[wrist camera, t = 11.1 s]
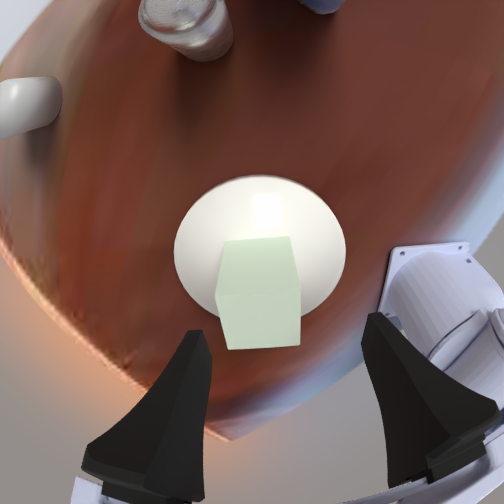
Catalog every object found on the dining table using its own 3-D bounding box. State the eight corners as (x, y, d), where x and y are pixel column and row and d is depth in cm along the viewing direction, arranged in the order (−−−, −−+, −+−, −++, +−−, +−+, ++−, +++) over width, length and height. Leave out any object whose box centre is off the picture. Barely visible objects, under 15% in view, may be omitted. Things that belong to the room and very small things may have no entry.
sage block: (289, 235, 19) (300, 289, 14) (290, 286, 21) (299, 344, 16) (225, 240, 19) (214, 295, 14) (234, 290, 22) (228, 349, 16)
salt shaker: (230, 11, 12) (213, -50, 5) (237, 56, 14) (223, 18, 6) (176, 22, 12) (122, -24, 5) (182, 67, 14) (125, 44, 7)
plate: (345, 169, 18) (350, 174, 17) (334, 310, 24) (337, 318, 23) (161, 185, 18) (156, 190, 17) (196, 319, 25) (194, 328, 24)
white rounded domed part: (60, 68, 13) (17, 69, 9) (65, 116, 15) (23, 127, 11) (26, 88, 13) (-14, 95, 9) (32, 133, 15) (-8, 147, 11)
